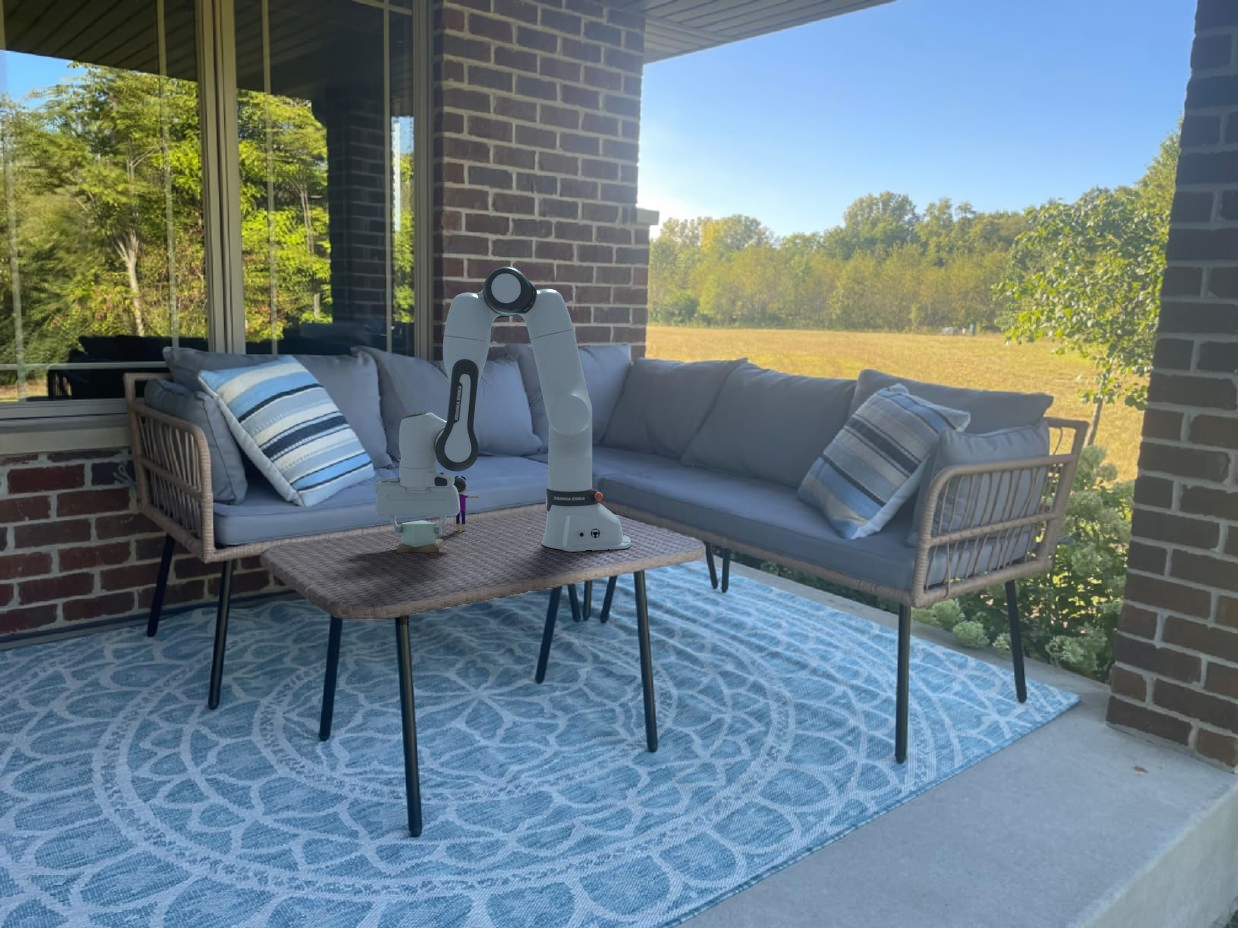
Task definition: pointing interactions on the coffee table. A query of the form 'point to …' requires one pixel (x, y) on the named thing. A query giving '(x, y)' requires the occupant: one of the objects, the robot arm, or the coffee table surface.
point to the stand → (421, 547)
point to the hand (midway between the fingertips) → (418, 533)
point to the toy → (461, 501)
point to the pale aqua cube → (418, 533)
